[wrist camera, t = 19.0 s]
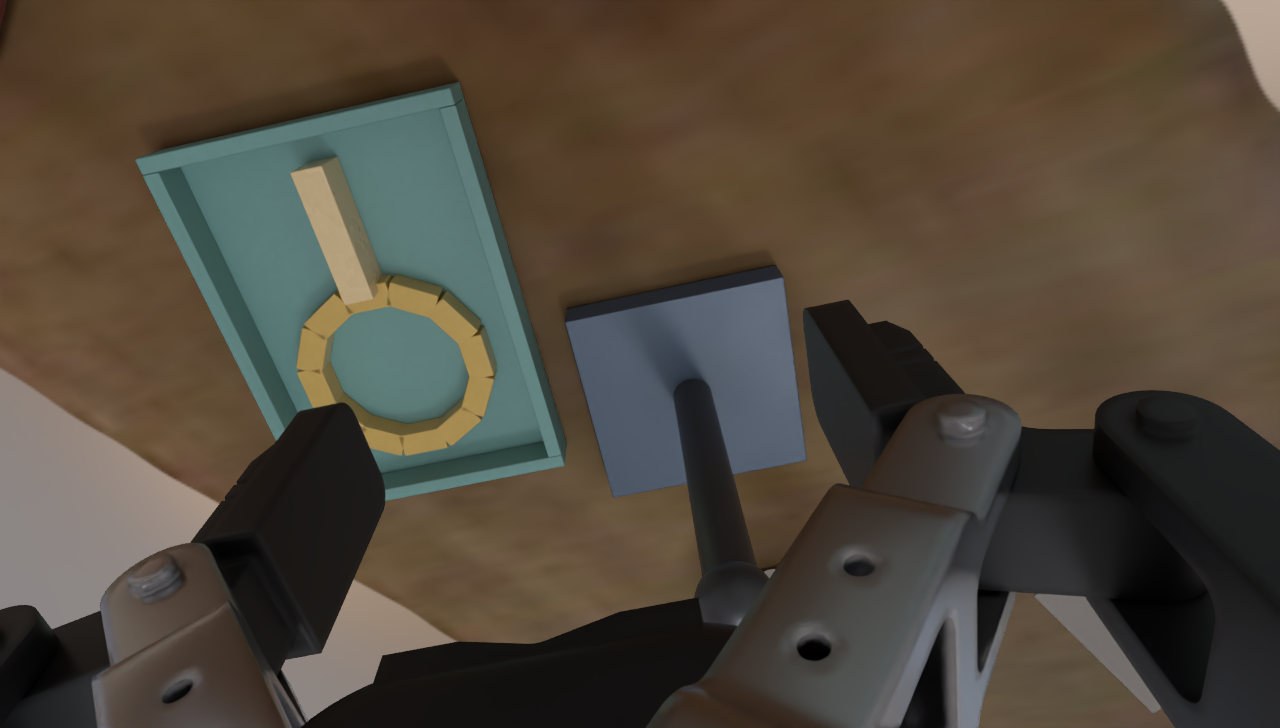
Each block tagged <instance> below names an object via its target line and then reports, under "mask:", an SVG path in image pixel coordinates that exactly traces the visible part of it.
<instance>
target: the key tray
mask: <svg viewBox="0 0 1280 728" xmlns="http://www.w3.org/2000/svg"><path fill="white" fill-rule="evenodd" d="M335 156H337V157H338V160H339V162H340V165H341V168H342V170H343V173H344V175H345V178H346V181H347V183H348V186H349V189H350V191H351V194H352V196H353V199H354V202H355V204H356V207H357V210H358V212H359V215H360V217H361V220H362V223H363V225H364V228H365V231H366V233H367V236H368V239H369V241H370V244H371V246H372V249H373V252H374V254H375V257H376V260H377V262H378V265H379V267H380V270H381V273H382V275H387V274H391V275H392V277H393V278H394V276H395V275H396V274H398V275H402V276H405V277H409V278H412V279H416V280H419V281H423V282H426V283H430V284H433V285H437V286H440V287H443V291H442V294H443V293H444V292H445V291H446V290H448V291H449V292H450V293H451V294H452V295H454V296H455V297H456V298H457V299H458V300H459V301H460V302H461V303H462V304H463V305H464V306H466V307H467V308H468V309H469V310H470V311H471V312H472V313H473V314H474V315H475V316H476V317H478V318H479V319H480V320H481V324H480V326H482V325H484V326H485V329H486V332H487V335H488V338H489V341H490V344H491V347H492V350H493V353H494V356H495V359H496V362H497V367H496V369H497V373H496V377H495V380H494V384H493V387H492V391H491V394H490V398H489V402H488V405H487V409H486V412H485V415H484V416H483V417H482V421H480V422H479V423H478V424H477V425H476V426H475V427H473V428H472V429H471V430H470V431H469V432H468V433H466V434H465V435H464V436H463V437H462V438H460V439H459V440H458V441H457V442H456V443H455V444H453V445H452V446H451V445H450V444H449V446H448V448H444V449H439V450H434V451H429V452H424V453H419V454H414V455H409V456H406V455H405V453H404V452H403V454H402V456H400V455H396V454H392V453H388V452H384V451H380V450H375V449H371V448H370V449H371V451H372V454H373V456H374V458H375V461H376V463H377V465H378V467H379V470H380V472H381V474H382V477H383V481H384V485H385V501H387V500H392V499H397V498H403V497H408V496H413V495H418V494H423V493H428V492H433V491H438V490H443V489H448V488H454V487H459V486H464V485H469V484H474V483H479V482H484V481H489V480H494V479H499V478H505V477H510V476H515V475H520V474H525V473H530V472H535V471H540V470H545V469H550V468H556V467H561V466H564V465H565V456H566V447H567V443H566V440H565V436H564V433H563V430H562V426H561V423H560V420H559V416H558V413H557V410H556V406H555V403H554V399H553V396H552V393H551V389H550V386H549V383H548V379H547V376H546V373H545V369H544V366H543V363H542V359H541V356H540V352H539V349H538V346H537V342H536V339H535V336H534V332H533V329H532V326H531V322H530V319H529V315H528V312H527V309H526V305H525V302H524V299H523V295H522V292H521V289H520V285H519V282H518V279H517V275H516V272H515V268H514V265H513V262H512V258H511V255H510V252H509V248H508V245H507V242H506V238H505V235H504V232H503V228H502V225H501V221H500V218H499V215H498V211H497V208H496V205H495V201H494V198H493V195H492V191H491V188H490V184H489V181H488V178H487V174H486V171H485V168H484V164H483V161H482V158H481V154H480V151H479V148H478V144H477V141H476V137H475V134H474V131H473V127H472V124H471V121H470V117H469V114H468V111H467V107H466V104H465V101H464V97H463V94H462V90H461V87H460V84H459V82H456V83H452V84H447V85H443V86H439V87H434V88H430V89H425V90H421V91H417V92H412V93H408V94H403V95H399V96H395V97H390V98H386V99H382V100H377V101H373V102H368V103H364V104H360V105H355V106H351V107H346V108H342V109H338V110H333V111H329V112H324V113H320V114H316V115H311V116H307V117H303V118H298V119H294V120H289V121H285V122H281V123H276V124H272V125H267V126H263V127H259V128H254V129H250V130H245V131H241V132H237V133H232V134H228V135H224V136H219V137H215V138H210V139H206V140H202V141H197V142H193V143H188V144H184V145H180V146H175V147H171V148H167V149H162V150H159V151H156V152H154V153H151V154H148V155H145V156H142V157H139V158H137V159H136V160H135V161H136V163H137V165H138V167H139V169H140V171H141V173H142V174H143V175H144V176H143V178H144V180H145V182H146V184H147V186H148V188H149V190H150V192H151V193H152V195H153V197H154V199H155V201H156V203H157V205H158V207H159V209H160V211H161V213H162V215H163V217H164V219H165V221H166V223H167V225H168V227H169V229H170V231H171V233H172V235H173V237H174V239H175V241H176V243H177V245H178V247H179V249H180V251H181V253H182V255H183V257H184V259H185V261H186V263H187V265H188V267H189V269H190V271H191V273H192V275H193V277H194V279H195V281H196V283H197V285H198V287H199V289H200V291H201V293H202V295H203V297H204V299H205V301H206V303H207V305H208V307H209V309H210V311H211V313H212V315H213V317H214V319H215V320H216V322H217V324H218V326H219V328H220V330H221V332H222V334H223V336H224V338H225V340H226V342H227V344H228V346H229V348H230V350H231V352H232V354H233V356H234V358H235V360H236V362H237V364H238V366H239V368H240V370H241V372H242V374H243V376H244V378H245V380H246V382H247V384H248V386H249V388H250V390H251V392H252V394H253V396H254V398H255V400H256V402H257V404H258V406H259V408H260V410H261V412H262V414H263V416H264V418H265V420H266V422H267V424H268V426H269V428H270V430H271V432H272V434H273V436H274V438H275V440H276V441H277V440H278V438H279V437H280V436H281V434H282V433H283V432H284V430H285V429H286V428H287V426H288V425H289V424H290V422H291V421H292V420H293V418H294V417H295V415H296V414H297V413H298V412H299V411H301V410H306V409H311V408H313V407H312V405H311V403H310V400H309V398H308V396H307V394H306V392H305V390H304V388H303V385H302V383H301V381H300V379H299V377H298V375H297V372H298V370H299V369H297V368H296V365H297V358H298V351H299V345H300V338H301V331H302V328H303V327H304V326H305V325H304V323H305V322H306V321H307V320H308V319H309V318H310V317H311V315H312V314H313V313H314V312H315V311H316V310H317V309H318V308H319V307H320V306H321V305H322V304H323V303H324V302H325V301H326V300H327V299H328V298H329V297H330V296H331V295H332V294H334V293H335V292H336V291H337V290H338V288H337V286H336V283H335V281H334V278H333V276H332V273H331V271H330V269H329V266H328V264H327V261H326V259H325V256H324V254H323V252H322V249H321V247H320V244H319V242H318V239H317V237H316V235H315V232H314V230H313V227H312V225H311V223H310V220H309V218H308V215H307V213H306V210H305V208H304V206H303V203H302V201H301V198H300V196H299V193H298V191H297V189H296V186H295V184H294V181H293V179H292V176H291V174H290V173H291V172H292V171H294V170H296V169H297V168H299V167H301V166H303V165H304V164H306V163H308V162H312V161H317V160H321V159H326V158H330V157H335ZM330 362H331V365H332V367H333V369H334V371H335V374H336V376H337V378H338V381H339V383H340V385H341V387H342V390H343V392H344V393H345V394H346V395H347V396H349V397H350V398H351V399H352V400H354V401H355V402H356V403H357V404H359V405H360V406H361V407H362V408H364V409H365V410H366V411H367V412H369V413H370V414H371V415H374V416H378V417H382V418H386V419H390V420H394V421H398V422H402V423H406V424H410V423H415V422H420V421H425V420H430V419H435V418H440V417H442V416H443V415H444V414H445V413H446V412H448V411H449V410H450V409H451V408H452V407H453V406H454V405H456V404H457V403H458V402H459V401H460V400H461V399H463V398H464V394H465V390H466V387H467V383H468V379H469V374H468V371H467V368H466V365H465V363H464V360H463V357H462V354H461V351H460V348H459V345H458V343H457V342H456V341H455V340H454V339H452V338H451V337H450V336H449V335H448V334H447V333H446V332H445V331H443V330H442V329H441V328H440V327H439V326H438V325H437V324H436V323H434V322H433V321H432V320H431V319H430V318H429V317H425V316H422V315H418V314H415V313H411V312H407V311H404V310H400V309H397V308H393V307H385V308H380V309H375V310H371V311H366V312H361V313H356V314H352V315H351V316H350V317H349V318H348V319H347V320H346V321H345V322H344V323H343V324H342V325H341V326H340V327H339V328H338V329H337V330H336V331H335V333H334V339H333V345H332V351H331V357H330Z"/></svg>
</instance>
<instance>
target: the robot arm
mask: <svg viewBox="0 0 1280 728" xmlns="http://www.w3.org/2000/svg"><path fill="white" fill-rule="evenodd" d="M803 323H804V332H805V340H806V349H807V357H808V366H809V374H810V382H811V390H812V397H813V402H814V406H815V410H816V414H817V417H818V420H819V423H820V425H821V427H822V429H823V431H824V433H825V435H826V438H827V440H828V442H829V444H830V446H831V448H832V450H833V452H834V454H835V456H836V458H837V460H838V462H839V464H840V466H841V468H842V470H843V472H844V474H845V476H846V478H847V480H848V482H849V484H850V486H849V485H844V484H835V485H833V486H832V487H831V488H830V489H829V490H828V492H827V493H826V494H825V496H824V497H823V499H822V500H821V502H820V503H819V505H818V506H817V508H816V509H815V511H814V512H813V514H812V515H811V517H810V518H809V520H808V521H807V523H806V524H805V526H804V527H803V529H802V530H801V532H800V533H799V535H798V536H797V538H796V539H795V541H794V542H793V544H792V545H791V547H790V548H789V550H788V551H787V553H786V554H785V556H784V557H783V559H782V560H781V562H780V563H779V565H778V566H777V568H776V569H775V571H774V572H773V574H772V575H771V577H770V578H769V580H768V581H767V583H766V584H765V586H764V587H763V589H762V590H761V592H760V593H759V595H758V596H757V598H756V599H755V601H754V602H753V604H752V605H751V607H750V608H749V610H748V611H747V613H746V614H745V616H744V617H743V619H742V620H741V622H740V623H739V625H738V626H736V625H729V624H722V623H712V622H704V620H703V616H702V612H701V607H700V603H699V599H698V598H693V599H688V600H682V601H677V602H671V603H666V604H660V605H655V606H649V607H644V608H639V609H633V610H628V611H622V612H618V613H616V614H613V615H610V616H608V617H605V618H603V619H600V620H598V621H595V622H592V623H590V624H587V625H585V626H582V627H579V628H577V629H574V630H572V631H569V632H567V633H564V634H561V635H559V636H556V637H554V638H551V639H549V640H546V641H543V642H540V643H535V644H516V643H486V642H454V643H449V644H443V645H438V646H432V647H427V648H421V649H416V650H410V651H405V652H399V653H394V654H388V655H383V656H382V659H381V662H380V665H379V667H378V670H377V673H376V676H375V679H374V682H373V684H370V685H368V686H365V687H363V688H362V689H359V690H357V691H355V692H353V693H351V694H349V695H347V696H346V697H344V698H342V699H340V700H339V701H337V702H335V703H334V704H332V705H330V706H329V707H327V708H326V709H324V710H323V711H321V712H320V713H318V714H317V715H316V716H314V717H313V718H311V719H310V720H309V721H308V719H307V717H306V715H305V713H304V711H303V710H302V707H301V705H300V704H299V701H298V699H297V697H296V695H295V693H294V691H293V689H292V687H291V685H290V683H289V681H288V680H287V678H286V676H285V675H284V673H283V671H282V670H281V668H282V665H283V664H284V662H285V660H286V659H292V658H297V657H303V656H308V655H313V654H319V653H322V650H323V648H324V646H325V643H326V641H327V639H328V636H329V634H330V632H331V630H332V627H333V625H334V623H335V620H336V618H337V616H338V613H339V611H340V609H341V606H342V604H343V602H344V600H345V597H346V595H347V593H348V590H349V588H350V586H351V584H352V581H353V579H354V577H355V574H356V572H357V570H358V568H359V565H360V563H361V561H362V558H363V556H364V554H365V551H366V549H367V547H368V544H369V542H370V540H371V538H372V535H373V533H374V531H375V528H376V526H377V524H378V521H379V519H380V517H381V515H382V512H383V510H384V506H385V485H384V481H383V477H382V474H381V472H380V470H379V467H378V465H377V463H376V461H375V458H374V456H373V454H372V451H371V449H370V447H369V445H368V442H367V440H366V438H365V436H364V433H363V431H362V429H361V426H360V424H359V422H358V420H357V417H356V415H355V413H354V411H353V410H352V408H351V407H350V406H349V405H348V404H346V403H344V402H340V403H335V404H331V405H326V406H321V407H316V408H311V409H306V410H301V411H299V412H298V413H297V414H296V415H295V417H294V418H293V420H292V421H291V422H290V424H289V425H288V426H287V428H286V429H285V430H284V432H283V433H282V434H281V436H280V437H279V438H278V440H277V441H276V442H275V444H274V445H273V446H271V447H270V448H269V449H267V450H266V451H265V452H264V453H262V454H261V455H260V456H259V457H257V458H256V459H255V460H254V461H252V462H251V463H250V465H249V466H248V467H247V469H246V470H245V471H244V473H243V474H242V475H241V477H240V478H239V479H238V480H237V485H234V486H233V487H232V488H231V490H230V491H229V492H228V494H227V495H226V496H225V501H222V502H221V503H220V504H219V505H218V507H217V508H216V510H215V511H214V512H213V513H212V515H211V516H210V517H209V519H208V520H207V521H206V523H205V524H204V525H203V527H202V528H201V529H200V530H199V532H198V533H197V534H196V536H195V537H194V538H193V540H192V541H191V543H186V544H181V545H177V546H174V547H170V548H167V549H165V550H162V551H159V552H157V553H155V554H153V555H151V556H149V557H147V558H145V559H144V560H142V561H140V562H139V563H137V564H135V565H134V566H132V567H131V568H130V569H128V570H127V571H125V572H124V573H123V574H122V575H121V576H120V577H118V578H117V579H116V580H115V581H114V582H113V583H112V584H111V585H110V586H109V588H108V589H107V590H106V591H105V593H104V595H103V597H102V599H101V602H100V609H101V611H99V612H96V613H93V614H91V615H88V616H86V617H83V618H80V619H78V620H75V621H73V622H70V623H68V624H65V625H62V626H60V627H57V628H55V629H51V628H50V626H49V625H48V624H47V622H46V621H45V620H44V618H43V617H42V616H41V615H40V613H39V612H38V611H37V609H36V608H35V607H32V606H29V605H18V606H12V607H8V608H5V609H2V610H0V728H978V726H979V718H980V712H981V707H982V703H983V699H984V695H985V692H986V689H987V686H988V683H989V680H990V676H991V673H992V670H993V667H994V664H995V661H996V658H997V655H998V652H999V649H1000V646H1001V642H1002V639H1003V636H1004V633H1005V630H1006V627H1007V624H1008V621H1009V618H1010V615H1011V611H1012V608H1013V605H1014V602H1015V599H1016V595H1017V592H1022V593H1037V594H1052V595H1067V596H1081V597H1086V599H1087V601H1088V602H1089V604H1090V605H1091V607H1092V608H1093V610H1094V611H1095V613H1096V614H1097V615H1098V617H1099V618H1100V620H1101V621H1102V623H1103V624H1104V626H1105V627H1106V628H1107V630H1108V631H1109V633H1110V634H1111V636H1112V637H1113V639H1114V640H1115V641H1116V643H1117V644H1118V646H1119V647H1120V649H1121V650H1122V652H1123V653H1124V654H1125V656H1126V657H1127V659H1128V660H1129V662H1130V663H1131V664H1132V666H1133V667H1134V669H1135V670H1136V672H1137V673H1138V675H1139V676H1140V677H1141V679H1142V680H1143V682H1144V683H1145V685H1146V686H1147V688H1148V689H1149V690H1150V692H1151V693H1152V695H1153V696H1154V698H1155V699H1156V701H1157V702H1158V703H1159V705H1160V706H1161V708H1162V709H1163V711H1164V712H1165V714H1166V715H1167V716H1168V718H1169V719H1170V721H1171V722H1172V724H1173V725H1174V727H1175V728H1280V450H1278V449H1277V448H1276V447H1274V446H1273V445H1272V444H1270V443H1269V442H1268V441H1266V440H1265V439H1264V438H1262V437H1261V436H1260V435H1258V434H1257V433H1256V432H1254V431H1253V430H1252V429H1250V428H1249V427H1248V426H1246V425H1245V424H1244V423H1243V422H1241V421H1240V420H1239V419H1237V418H1236V417H1235V416H1233V415H1232V414H1231V413H1229V412H1228V411H1227V410H1225V409H1223V408H1222V407H1220V406H1219V405H1216V404H1214V403H1212V402H1210V401H1208V400H1205V399H1202V398H1199V397H1196V396H1192V395H1188V394H1183V393H1178V392H1170V391H1157V390H1148V391H1135V392H1128V393H1123V394H1120V395H1117V396H1114V397H1112V398H1109V399H1107V400H1106V401H1104V402H1103V403H1102V404H1101V405H1100V406H1099V407H1098V409H1097V411H1096V414H1095V427H1094V429H1036V428H1027V427H1021V426H1022V425H1021V420H1020V418H1019V416H1018V414H1017V413H1016V412H1015V411H1014V410H1013V409H1012V408H1010V407H1009V406H1008V405H1006V404H1004V403H1002V402H1000V401H997V400H995V399H992V398H988V397H984V396H979V395H971V394H965V393H964V392H963V390H962V389H961V388H960V387H959V386H958V385H957V384H956V383H955V381H954V380H953V379H952V378H951V377H950V376H949V375H948V374H947V372H946V371H945V370H944V369H943V368H942V367H941V366H940V365H939V363H938V362H937V361H934V358H933V357H932V356H931V354H930V353H929V352H928V351H927V350H926V349H923V346H922V344H921V343H920V342H919V341H918V340H917V339H916V338H915V337H914V335H913V334H912V333H911V332H910V331H908V330H906V329H904V328H901V327H899V326H897V325H894V324H892V323H890V322H887V321H882V322H877V323H872V324H867V322H866V321H865V320H864V318H863V317H862V316H861V315H860V313H859V312H858V311H857V310H856V308H855V307H854V306H853V304H852V303H851V302H850V301H849V300H844V301H839V302H834V303H829V304H824V305H819V306H814V307H809V308H805V309H804V311H803Z"/></svg>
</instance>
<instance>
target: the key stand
mask: <svg viewBox="0 0 1280 728" xmlns="http://www.w3.org/2000/svg"><path fill="white" fill-rule="evenodd" d="M565 324H566V328H567V331H568V335H569V339H570V342H571V346H572V350H573V353H574V357H575V361H576V364H577V368H578V371H579V375H580V379H581V382H582V386H583V390H584V393H585V397H586V401H587V404H588V408H589V411H590V415H591V419H592V422H593V426H594V430H595V433H596V437H597V441H598V444H599V448H600V451H601V455H602V459H603V462H604V466H605V470H606V473H607V477H608V481H609V484H610V488H611V491H612V495H613V497H620V496H625V495H630V494H635V493H640V492H645V491H651V490H656V489H661V488H666V487H671V486H677V485H682V484H687V485H688V491H689V497H690V503H691V510H692V516H693V522H694V528H695V534H696V541H697V547H698V553H699V559H700V565H701V572H702V579H701V580H700V582H699V584H698V586H697V589H696V592H695V596H694V598H698V599H699V603H700V607H701V612H702V616H703V620H704V622H712V623H722V624H729V625H736V626H738V625H739V623H740V622H741V620H742V619H743V617H744V616H745V614H746V613H747V611H748V610H749V608H750V607H751V605H752V604H753V602H754V601H755V599H756V598H757V596H758V595H759V593H760V592H761V590H762V589H763V587H764V586H765V584H766V583H767V581H768V580H769V577H768V576H767V575H766V574H765V573H764V572H763V571H762V570H761V569H759V568H758V567H757V566H756V562H755V558H754V554H753V550H752V546H751V543H750V539H749V535H748V531H747V527H746V523H745V519H744V516H743V512H742V508H741V504H740V500H739V496H738V492H737V488H736V485H735V481H734V477H733V475H734V474H739V473H744V472H749V471H754V470H759V469H765V468H770V467H775V466H780V465H785V464H791V463H796V462H801V461H806V460H807V457H806V449H805V441H804V433H803V426H802V418H801V410H800V402H799V394H798V386H797V379H796V371H795V363H794V355H793V347H792V339H791V332H790V324H789V316H788V308H787V300H786V293H785V285H784V278H783V276H782V274H781V273H780V271H779V269H778V268H777V266H776V265H775V266H770V267H765V268H760V269H755V270H751V271H746V272H741V273H736V274H731V275H727V276H722V277H717V278H712V279H707V280H703V281H698V282H693V283H688V284H683V285H679V286H674V287H669V288H664V289H659V290H655V291H650V292H645V293H640V294H635V295H631V296H626V297H621V298H616V299H611V300H607V301H602V302H597V303H592V304H587V305H583V306H578V307H573V308H568V309H567V313H566V320H565Z"/></svg>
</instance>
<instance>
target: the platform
mask: <svg viewBox="0 0 1280 728" xmlns="http://www.w3.org/2000/svg"><path fill="white" fill-rule="evenodd" d="M1034 597H1035V598H1036V599H1037V600H1038V601H1039V602H1040V603H1041V604H1042V605H1043V606H1044V607H1045V608H1046V609H1047V610H1048V611H1049V612H1051V613H1052V614H1053V615H1054V616H1055V617H1056V618H1057V619H1058V620H1059V621H1060V622H1061V623H1062V624H1063V625H1064V626H1065V627H1066V628H1067V629H1068V630H1069V631H1070V632H1071V633H1072V634H1073V635H1074V636H1075V637H1076V638H1077V639H1078V640H1079V641H1080V642H1081V643H1082V644H1083V645H1084V646H1085V647H1086V648H1087V649H1088V650H1089V651H1090V652H1091V653H1092V654H1093V655H1094V656H1095V657H1096V658H1097V659H1098V660H1099V661H1100V662H1101V663H1102V664H1103V665H1104V666H1105V667H1106V668H1107V669H1108V670H1110V671H1111V672H1112V673H1113V674H1114V675H1115V676H1116V677H1117V678H1118V679H1119V680H1120V681H1121V682H1122V683H1123V684H1124V685H1125V686H1126V687H1127V688H1128V689H1129V690H1130V691H1131V692H1132V693H1133V694H1134V695H1135V696H1136V697H1137V698H1138V699H1139V700H1140V701H1141V702H1142V703H1143V704H1144V705H1145V706H1146V707H1147V708H1148V709H1149V710H1150V711H1151V712H1152V713H1154V712H1156V711H1158V710H1160V709H1162V708H1161V706H1160V705H1159V703H1158V702H1157V701H1156V699H1155V698H1154V696H1153V695H1152V693H1151V692H1150V690H1149V689H1148V688H1147V686H1146V685H1145V683H1144V682H1143V680H1142V679H1141V677H1140V676H1139V675H1138V673H1137V672H1136V670H1135V669H1134V667H1133V666H1132V664H1131V663H1130V662H1129V660H1128V659H1127V657H1126V656H1125V654H1124V653H1123V652H1122V650H1121V649H1120V647H1119V646H1118V644H1117V643H1116V641H1115V640H1114V639H1113V637H1112V636H1111V634H1110V633H1109V631H1108V630H1107V628H1106V627H1105V626H1104V624H1103V623H1102V621H1101V620H1100V618H1099V617H1098V615H1097V614H1096V613H1095V611H1094V610H1093V608H1092V607H1091V605H1090V604H1089V602H1088V601H1087V599H1086V597H1081V596H1067V595H1052V594H1036V595H1035V596H1034Z"/></svg>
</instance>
